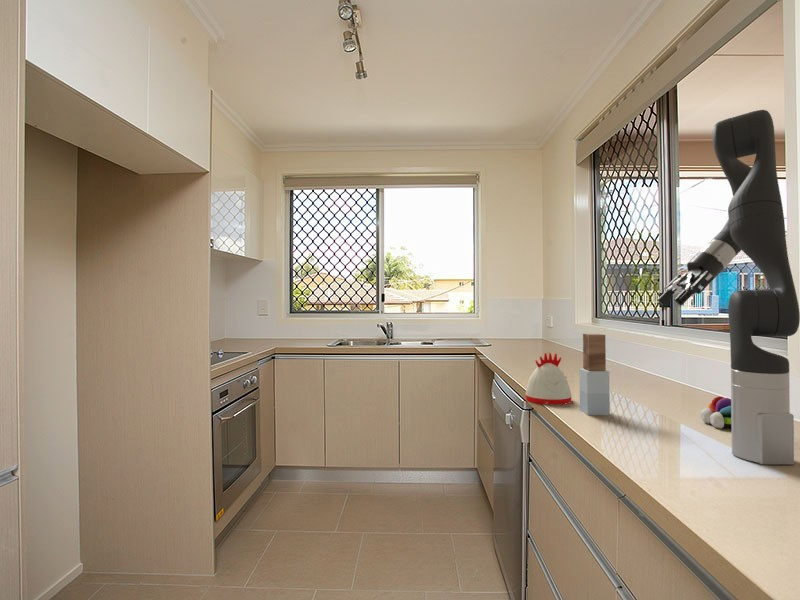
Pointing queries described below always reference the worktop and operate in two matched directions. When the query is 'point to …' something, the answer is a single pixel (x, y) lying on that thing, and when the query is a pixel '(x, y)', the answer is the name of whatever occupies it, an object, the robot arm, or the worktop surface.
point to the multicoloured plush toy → (717, 412)
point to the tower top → (594, 381)
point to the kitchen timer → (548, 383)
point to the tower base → (595, 403)
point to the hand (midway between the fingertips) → (668, 302)
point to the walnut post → (594, 352)
